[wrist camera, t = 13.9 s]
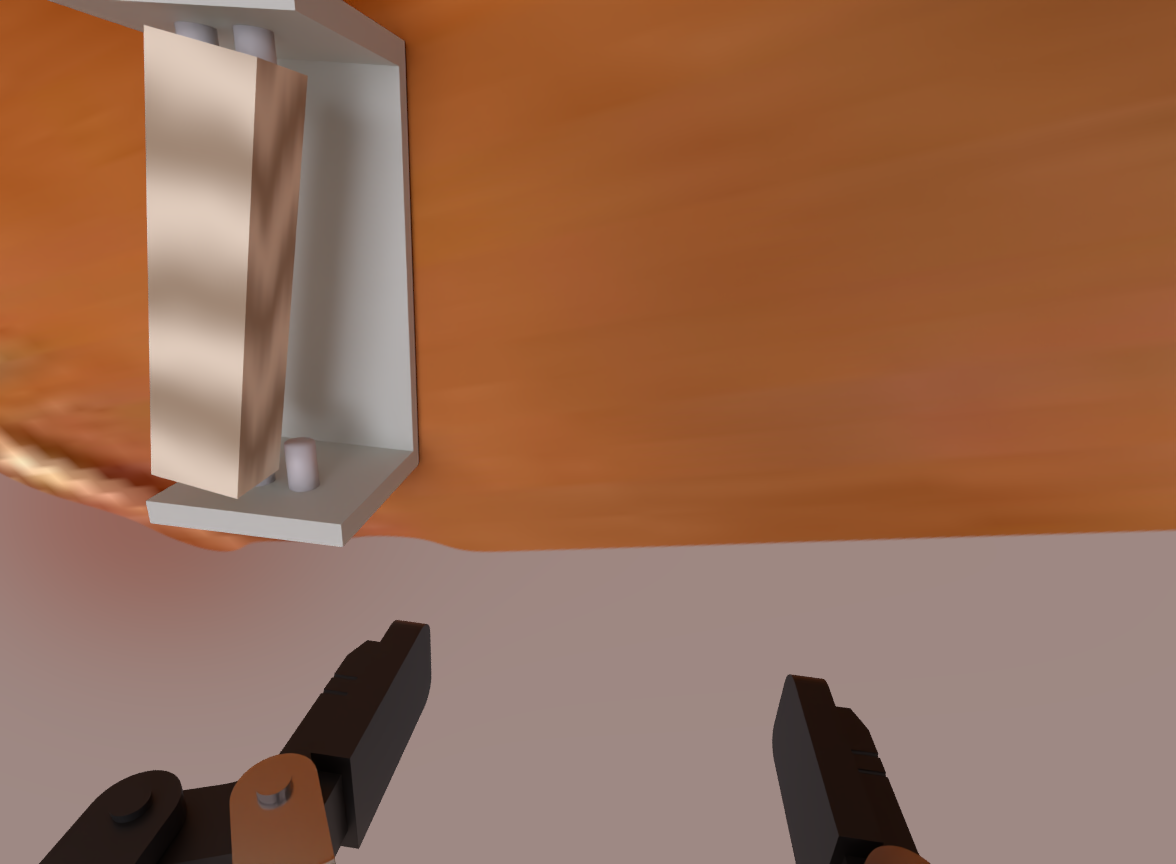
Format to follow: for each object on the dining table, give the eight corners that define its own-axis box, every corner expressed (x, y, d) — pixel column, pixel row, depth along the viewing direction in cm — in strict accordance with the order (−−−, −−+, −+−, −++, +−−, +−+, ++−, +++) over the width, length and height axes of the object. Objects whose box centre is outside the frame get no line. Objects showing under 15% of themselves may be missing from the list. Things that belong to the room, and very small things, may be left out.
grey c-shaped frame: (216, 29, 37) (24, -47, 26) (404, 41, 36) (291, -33, 25) (270, 447, 47) (150, 522, 36) (418, 464, 46) (342, 546, 35)
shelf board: (208, 47, 29) (143, 24, 25) (307, 75, 29) (256, 57, 25) (201, 447, 37) (151, 474, 33) (279, 469, 37) (237, 498, 33)
